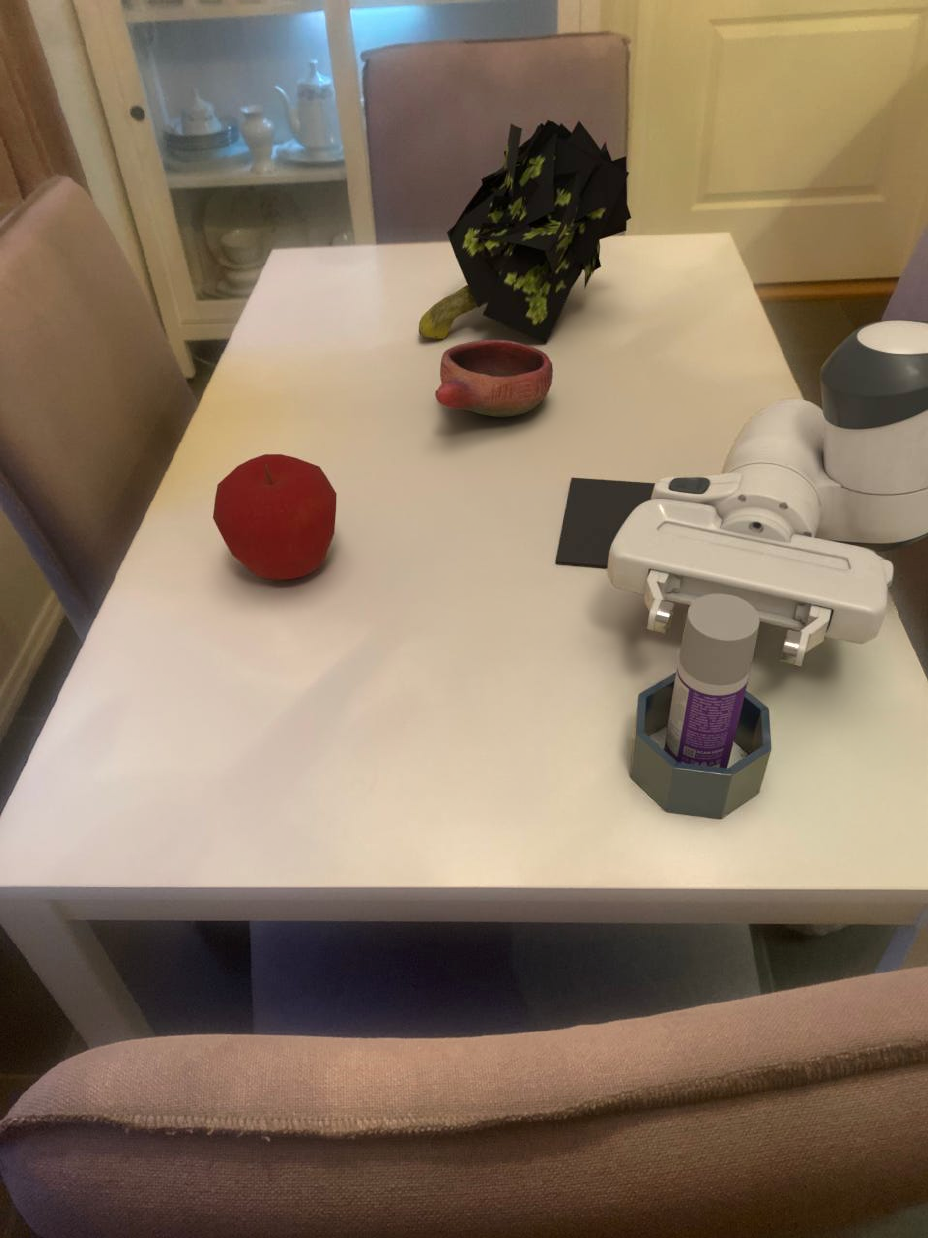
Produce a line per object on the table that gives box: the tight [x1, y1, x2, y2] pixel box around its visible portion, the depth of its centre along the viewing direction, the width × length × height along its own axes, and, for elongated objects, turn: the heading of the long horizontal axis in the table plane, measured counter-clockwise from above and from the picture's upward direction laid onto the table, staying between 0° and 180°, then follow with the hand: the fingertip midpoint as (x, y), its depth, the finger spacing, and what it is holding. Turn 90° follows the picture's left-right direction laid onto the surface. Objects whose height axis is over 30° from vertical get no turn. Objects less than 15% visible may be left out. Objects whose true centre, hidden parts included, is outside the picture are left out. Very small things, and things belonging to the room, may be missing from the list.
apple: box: [212, 453, 337, 581], centre depth 83 cm, size 11×11×12 cm
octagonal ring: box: [629, 672, 773, 820], centre depth 66 cm, size 9×9×5 cm
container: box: [663, 593, 761, 768], centre depth 63 cm, size 5×5×15 cm
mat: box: [555, 477, 656, 569], centre depth 89 cm, size 22×14×1 cm, turn 79°
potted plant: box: [418, 119, 632, 345], centre depth 119 cm, size 21×22×30 cm
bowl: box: [434, 339, 554, 418], centre depth 104 cm, size 16×13×8 cm
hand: (723, 640), depth 65 cm, fingers open, 8 cm apart
